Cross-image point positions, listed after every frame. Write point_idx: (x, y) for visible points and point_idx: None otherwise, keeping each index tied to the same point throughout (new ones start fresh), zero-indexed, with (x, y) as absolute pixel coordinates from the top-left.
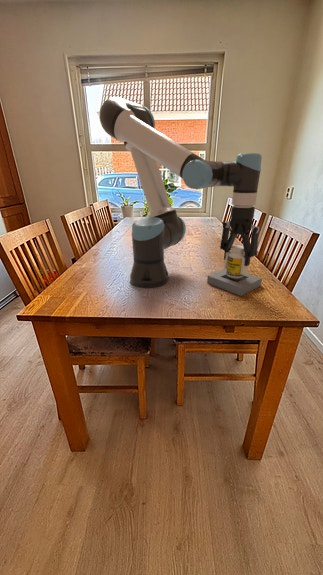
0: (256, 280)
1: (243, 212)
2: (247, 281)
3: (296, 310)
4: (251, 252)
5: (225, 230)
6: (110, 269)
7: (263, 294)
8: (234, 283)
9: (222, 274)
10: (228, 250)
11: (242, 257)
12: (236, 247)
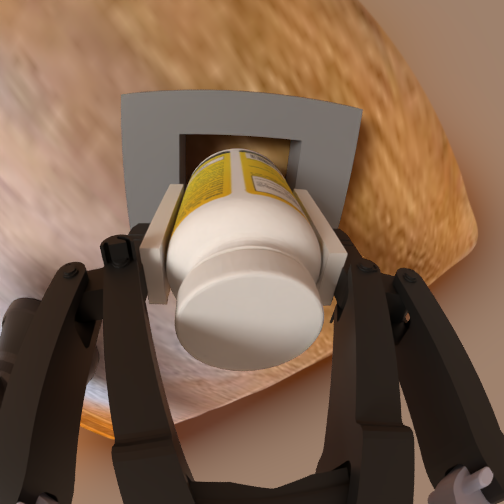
0: (350, 158)
1: None
2: (319, 199)
3: (459, 223)
4: (394, 336)
5: (69, 484)
6: None
7: (379, 185)
8: None
9: None
10: (142, 288)
11: None
12: (242, 348)
